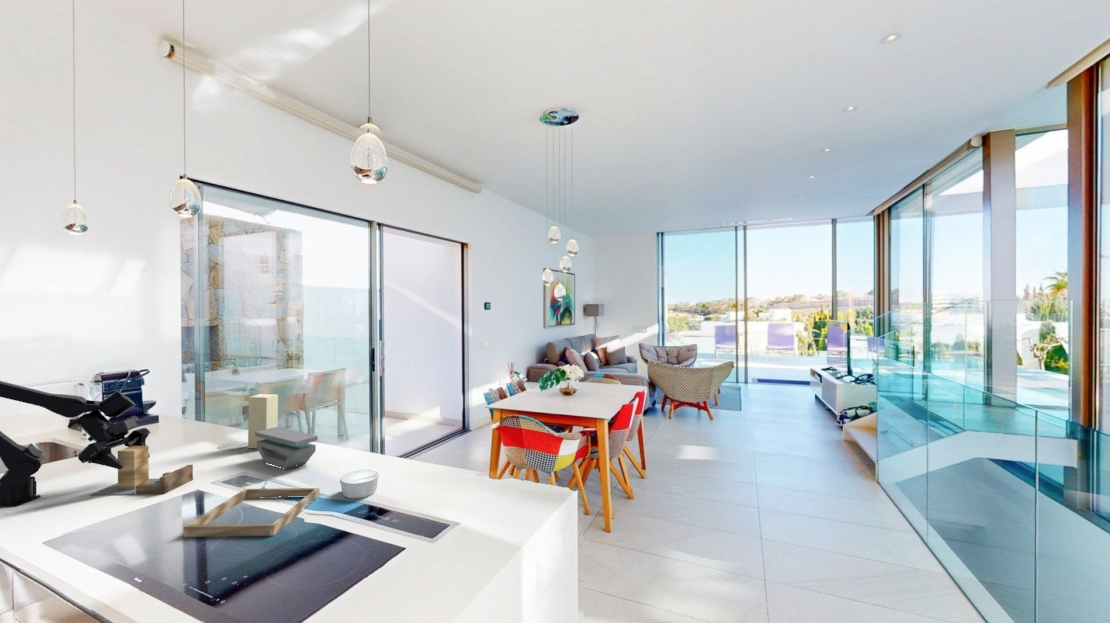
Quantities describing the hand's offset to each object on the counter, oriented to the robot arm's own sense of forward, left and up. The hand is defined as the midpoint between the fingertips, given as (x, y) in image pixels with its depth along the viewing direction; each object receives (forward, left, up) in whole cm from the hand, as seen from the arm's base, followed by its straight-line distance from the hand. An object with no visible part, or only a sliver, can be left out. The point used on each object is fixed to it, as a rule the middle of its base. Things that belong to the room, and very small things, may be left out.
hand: (135, 462), depth 140 cm
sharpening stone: (+20, -35, -8) cm, 41 cm away
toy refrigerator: (+40, -15, -8) cm, 44 cm away
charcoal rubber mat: (0, +2, -8) cm, 8 cm away
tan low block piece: (0, -8, -8) cm, 11 cm away
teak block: (0, +1, -7) cm, 7 cm away
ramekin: (-6, -72, -8) cm, 73 cm away
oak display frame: (-20, -50, -8) cm, 55 cm away
